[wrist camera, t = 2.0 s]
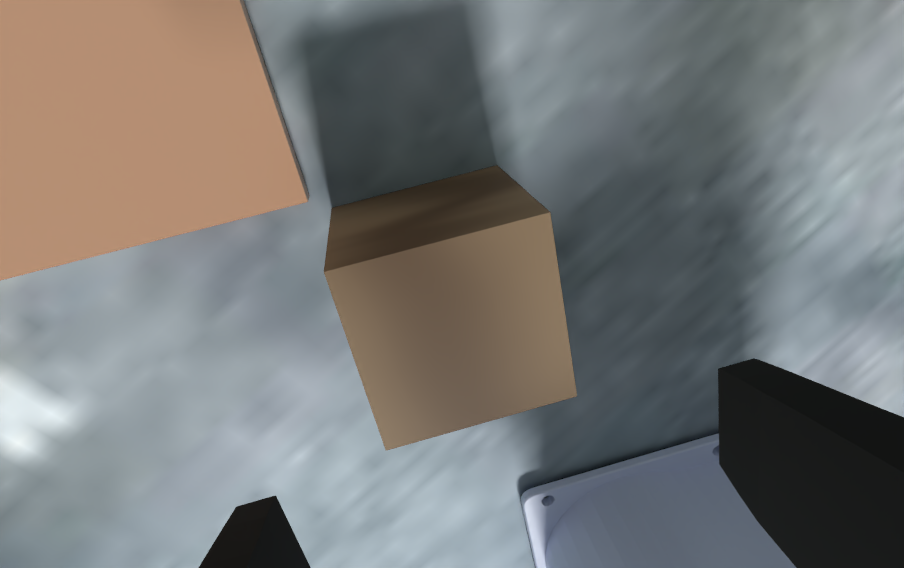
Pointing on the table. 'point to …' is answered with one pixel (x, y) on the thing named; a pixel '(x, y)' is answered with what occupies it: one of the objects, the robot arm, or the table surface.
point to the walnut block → (450, 304)
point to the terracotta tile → (132, 126)
